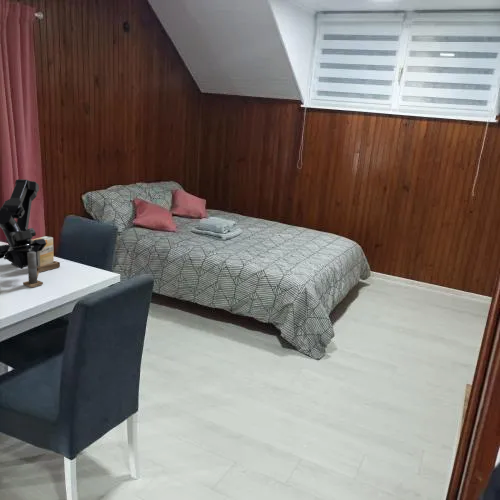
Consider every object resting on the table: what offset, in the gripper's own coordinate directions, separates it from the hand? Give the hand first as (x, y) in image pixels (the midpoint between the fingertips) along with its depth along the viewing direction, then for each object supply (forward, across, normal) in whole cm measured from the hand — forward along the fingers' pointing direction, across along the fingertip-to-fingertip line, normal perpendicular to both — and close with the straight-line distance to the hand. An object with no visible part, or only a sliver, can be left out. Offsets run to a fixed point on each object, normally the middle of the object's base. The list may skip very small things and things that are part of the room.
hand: (29, 266), depth 181 cm
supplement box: (-5, +14, +15) cm, 21 cm away
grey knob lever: (+2, +8, +8) cm, 12 cm away
